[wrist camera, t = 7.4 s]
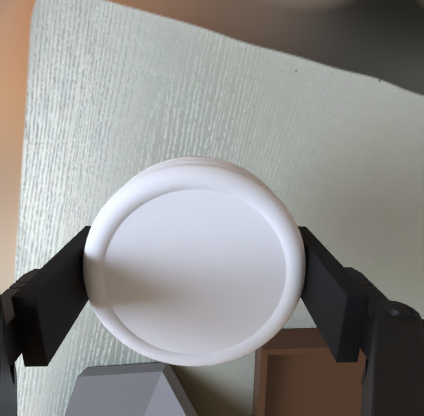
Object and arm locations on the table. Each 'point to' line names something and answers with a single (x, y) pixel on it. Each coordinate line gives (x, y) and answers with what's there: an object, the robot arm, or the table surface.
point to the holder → (305, 377)
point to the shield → (129, 392)
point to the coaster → (194, 262)
